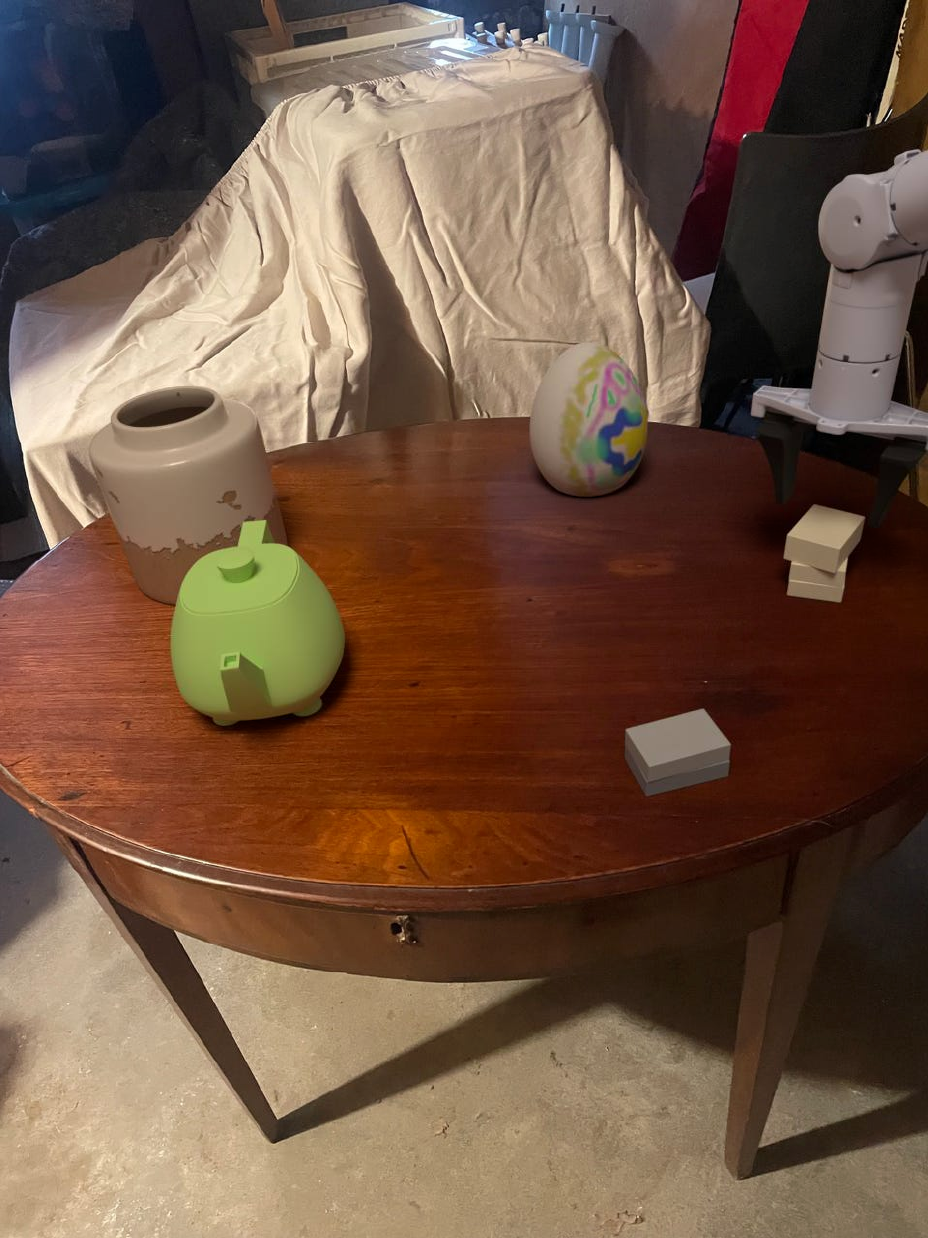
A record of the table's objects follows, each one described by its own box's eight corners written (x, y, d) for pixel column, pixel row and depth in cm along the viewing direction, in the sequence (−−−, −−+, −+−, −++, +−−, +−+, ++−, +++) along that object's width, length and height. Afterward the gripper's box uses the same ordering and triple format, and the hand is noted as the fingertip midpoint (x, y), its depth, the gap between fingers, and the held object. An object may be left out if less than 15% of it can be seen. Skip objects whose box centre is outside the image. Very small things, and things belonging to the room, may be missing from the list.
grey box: (702, 738, 63) (705, 707, 61) (728, 777, 60) (733, 746, 58) (623, 757, 62) (624, 726, 60) (645, 798, 59) (647, 767, 57)
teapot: (349, 764, 64) (317, 627, 56) (166, 786, 64) (109, 652, 56) (354, 606, 80) (329, 483, 72) (208, 623, 80) (168, 501, 72)
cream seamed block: (792, 558, 80) (797, 528, 78) (845, 565, 79) (851, 534, 77) (785, 595, 76) (790, 564, 74) (841, 603, 74) (848, 572, 72)
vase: (113, 563, 90) (54, 410, 80) (246, 508, 97) (207, 361, 87) (173, 628, 80) (114, 461, 70) (317, 561, 87) (282, 401, 77)
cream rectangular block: (809, 527, 78) (813, 503, 77) (860, 540, 76) (865, 516, 74) (783, 558, 75) (786, 534, 73) (835, 573, 72) (840, 549, 71)
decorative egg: (592, 519, 89) (593, 377, 80) (508, 483, 96) (500, 349, 87) (668, 475, 95) (676, 338, 86) (583, 444, 102) (583, 315, 94)
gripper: (742, 352, 66) (725, 509, 74) (949, 385, 59) (905, 556, 67) (780, 323, 71) (760, 474, 79) (977, 350, 63) (933, 515, 71)
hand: (829, 510), depth 73 cm, fingers open, 7 cm apart
